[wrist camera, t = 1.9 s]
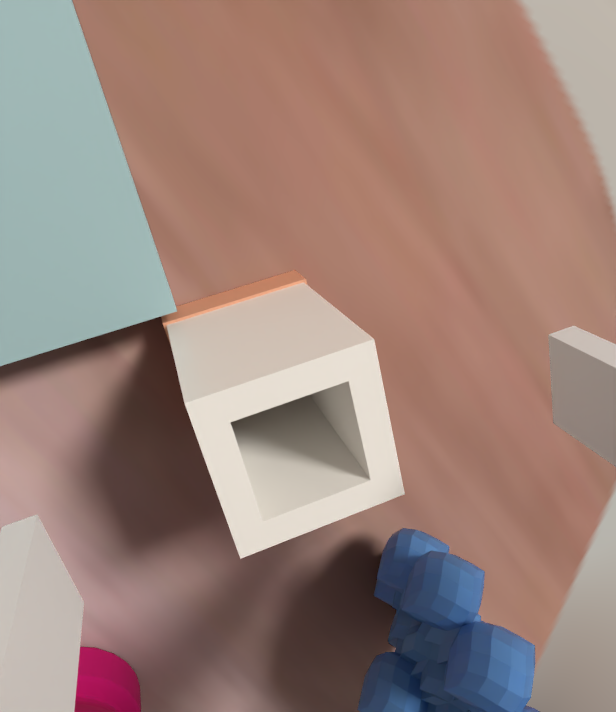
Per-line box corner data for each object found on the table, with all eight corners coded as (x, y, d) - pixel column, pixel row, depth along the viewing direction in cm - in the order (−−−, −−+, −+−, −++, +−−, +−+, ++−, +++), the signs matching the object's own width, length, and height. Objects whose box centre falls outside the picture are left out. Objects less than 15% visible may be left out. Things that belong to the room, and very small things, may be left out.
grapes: (279, 505, 26) (393, 773, 15) (418, 448, 27) (617, 658, 16) (340, 679, 30) (460, 978, 20) (456, 625, 32) (629, 879, 21)
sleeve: (323, 389, 24) (408, 495, 17) (202, 431, 23) (237, 562, 16) (294, 270, 22) (376, 334, 15) (159, 311, 21) (179, 401, 14)
